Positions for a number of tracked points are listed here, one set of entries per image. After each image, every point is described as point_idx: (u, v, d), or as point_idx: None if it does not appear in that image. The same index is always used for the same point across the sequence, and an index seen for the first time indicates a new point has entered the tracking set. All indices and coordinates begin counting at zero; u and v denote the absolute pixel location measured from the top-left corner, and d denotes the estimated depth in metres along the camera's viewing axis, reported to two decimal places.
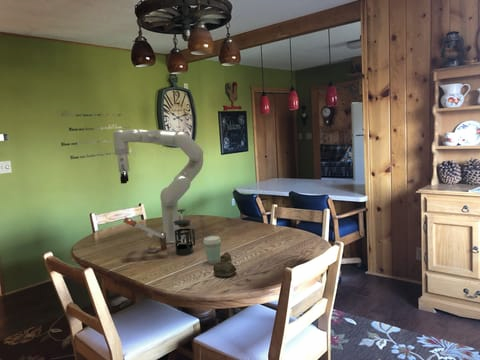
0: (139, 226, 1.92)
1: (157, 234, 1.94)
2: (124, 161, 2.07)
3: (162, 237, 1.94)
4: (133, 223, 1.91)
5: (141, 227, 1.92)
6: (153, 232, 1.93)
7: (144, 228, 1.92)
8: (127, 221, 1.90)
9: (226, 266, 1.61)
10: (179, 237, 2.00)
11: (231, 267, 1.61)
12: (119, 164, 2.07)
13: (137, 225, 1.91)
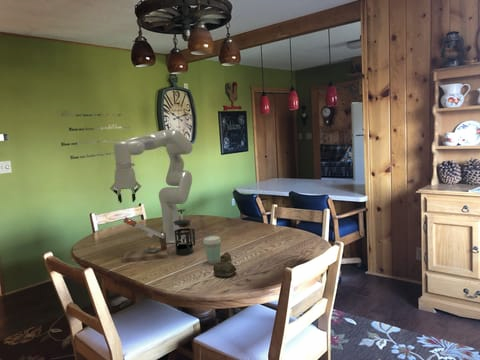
0: (139, 226, 1.92)
1: (157, 234, 1.94)
2: None
3: (162, 237, 1.94)
4: (133, 223, 1.91)
5: (141, 227, 1.92)
6: (153, 232, 1.93)
7: (144, 228, 1.92)
8: (127, 221, 1.90)
9: (226, 266, 1.61)
10: (179, 237, 2.00)
11: (231, 267, 1.61)
12: (134, 178, 1.88)
13: (137, 225, 1.91)
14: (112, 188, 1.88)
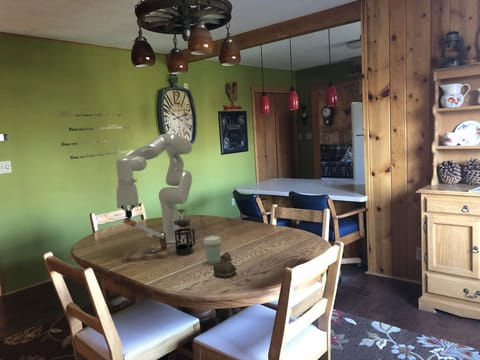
0: (139, 226, 1.92)
1: (157, 234, 1.94)
2: None
3: (162, 237, 1.94)
4: (133, 223, 1.91)
5: (141, 227, 1.92)
6: (153, 232, 1.93)
7: (144, 228, 1.92)
8: (127, 221, 1.90)
9: (226, 266, 1.61)
10: (179, 237, 2.00)
11: (231, 267, 1.61)
12: (136, 194, 1.89)
13: (137, 225, 1.91)
14: (119, 205, 1.89)
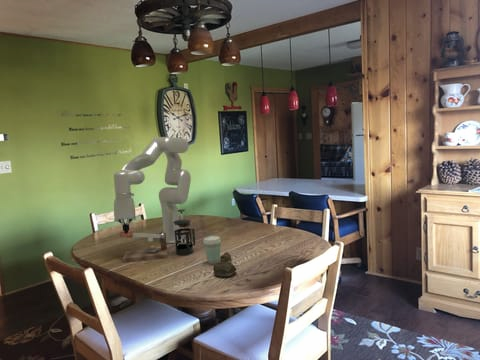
0: (137, 235, 1.92)
1: (157, 236, 1.94)
2: None
3: (162, 237, 1.94)
4: (130, 234, 1.91)
5: (139, 235, 1.92)
6: (152, 236, 1.93)
7: (142, 235, 1.92)
8: (123, 235, 1.90)
9: (226, 266, 1.61)
10: (179, 237, 2.00)
11: (231, 267, 1.61)
12: (133, 208, 1.89)
13: (134, 235, 1.92)
14: (116, 219, 1.89)
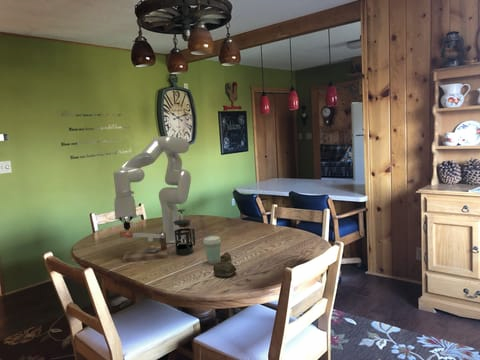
0: (137, 235, 1.92)
1: (157, 236, 1.94)
2: (134, 202, 1.92)
3: (162, 237, 1.94)
4: (130, 234, 1.91)
5: (139, 235, 1.92)
6: (152, 236, 1.93)
7: (142, 235, 1.92)
8: (123, 235, 1.90)
9: (226, 266, 1.61)
10: (179, 237, 2.00)
11: (231, 267, 1.61)
12: (134, 206, 1.90)
13: (134, 235, 1.92)
14: (117, 217, 1.90)
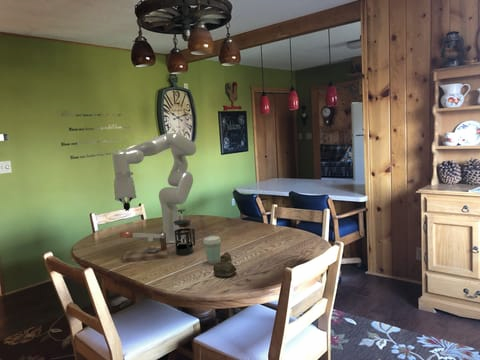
0: (137, 235, 1.92)
1: (157, 236, 1.94)
2: None
3: (162, 237, 1.94)
4: (130, 234, 1.91)
5: (139, 235, 1.92)
6: (152, 236, 1.93)
7: (142, 235, 1.92)
8: (123, 235, 1.90)
9: (226, 266, 1.61)
10: (179, 237, 2.00)
11: (231, 267, 1.61)
12: (133, 187, 1.94)
13: (134, 235, 1.92)
14: (117, 198, 1.94)
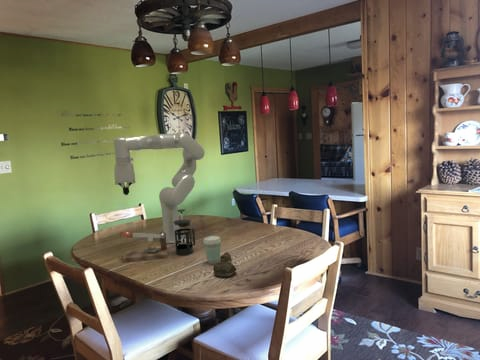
0: (137, 235, 1.92)
1: (157, 236, 1.94)
2: (133, 169, 2.04)
3: (162, 237, 1.94)
4: (130, 234, 1.91)
5: (139, 235, 1.92)
6: (152, 236, 1.93)
7: (142, 235, 1.92)
8: (123, 235, 1.90)
9: (226, 266, 1.61)
10: (179, 237, 2.00)
11: (231, 267, 1.61)
12: (133, 172, 2.01)
13: (134, 235, 1.92)
14: (116, 182, 2.01)
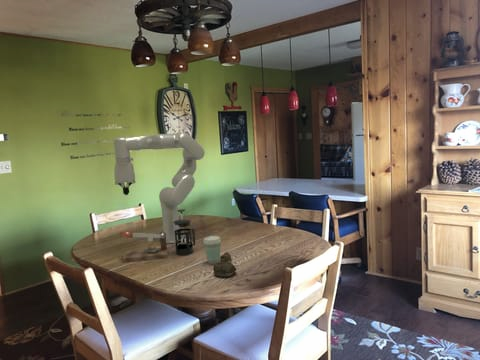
0: (137, 235, 1.92)
1: (157, 236, 1.94)
2: (133, 169, 2.04)
3: (162, 237, 1.94)
4: (130, 234, 1.91)
5: (139, 235, 1.92)
6: (152, 236, 1.93)
7: (142, 235, 1.92)
8: (123, 235, 1.90)
9: (226, 266, 1.61)
10: (179, 237, 2.00)
11: (231, 267, 1.61)
12: (133, 172, 2.01)
13: (134, 235, 1.92)
14: (116, 182, 2.01)
